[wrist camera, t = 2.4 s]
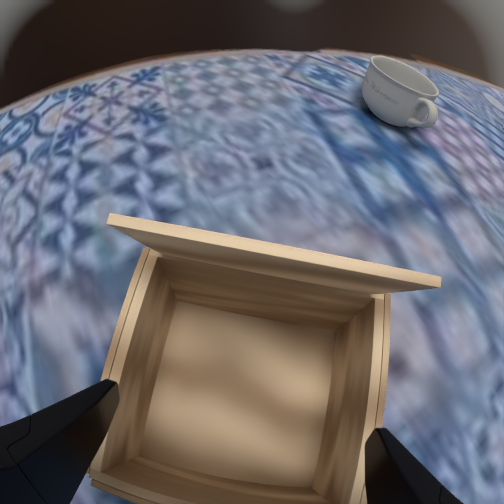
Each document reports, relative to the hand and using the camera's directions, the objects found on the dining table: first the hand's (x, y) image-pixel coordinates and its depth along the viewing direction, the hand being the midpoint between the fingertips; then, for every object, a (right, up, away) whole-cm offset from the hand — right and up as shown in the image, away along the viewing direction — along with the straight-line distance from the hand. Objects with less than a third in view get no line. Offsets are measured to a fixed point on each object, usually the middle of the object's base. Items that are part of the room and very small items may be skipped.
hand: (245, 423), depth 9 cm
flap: (+1, +5, +5) cm, 7 cm away
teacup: (+21, +25, +31) cm, 45 cm away
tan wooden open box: (-1, -5, +12) cm, 13 cm away
